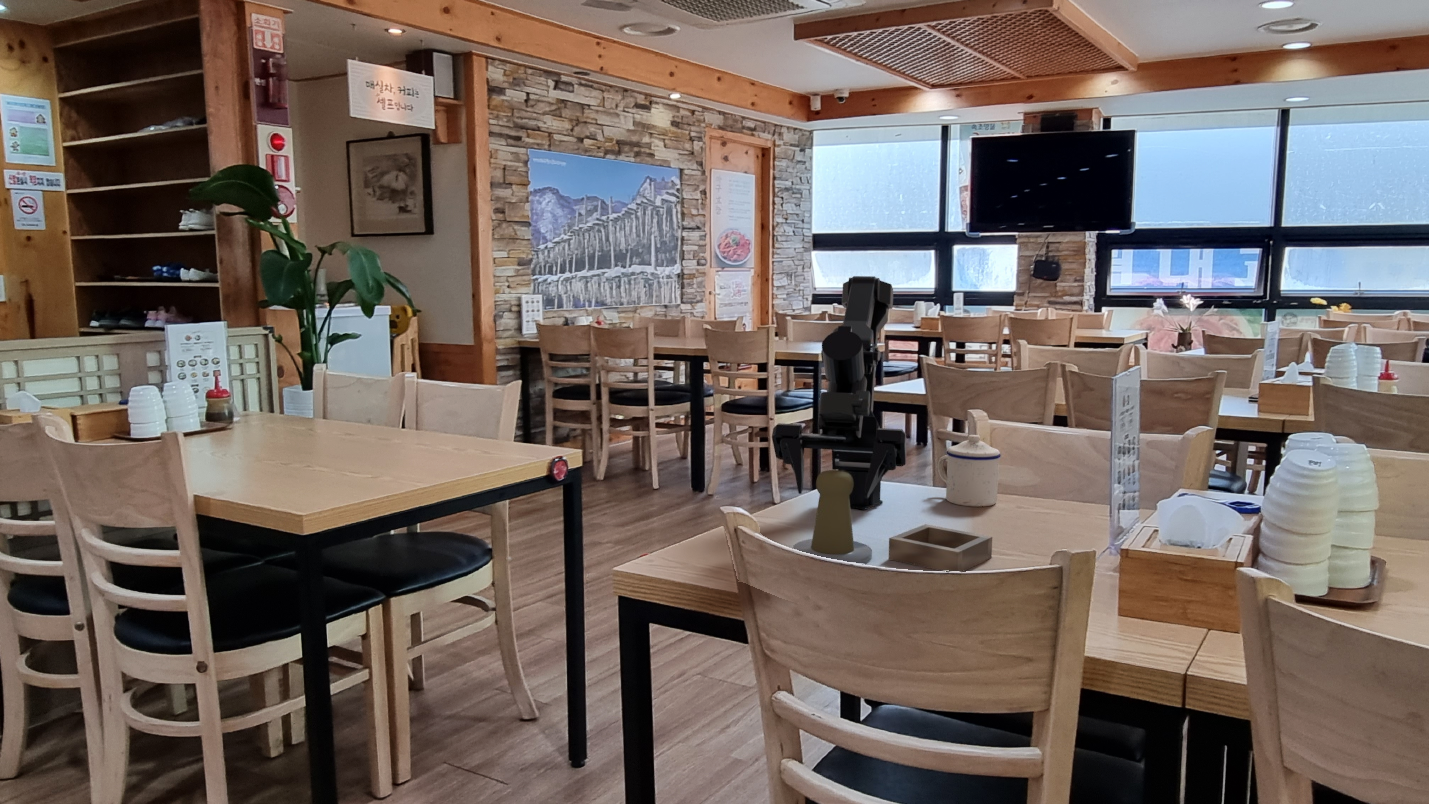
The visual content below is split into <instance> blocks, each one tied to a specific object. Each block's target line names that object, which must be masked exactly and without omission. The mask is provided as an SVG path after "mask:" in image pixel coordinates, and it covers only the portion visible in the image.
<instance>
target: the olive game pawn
mask: <svg viewBox="0 0 1429 804" xmlns="http://www.w3.org/2000/svg"><path fill="white" fill-rule="evenodd" d="M853 485H854V481H853V478H852V476H851V475H850V474H849V473H847V472H844V471H839V470H838V469H836V470H832V469H831V470H830V469H829V470H824V471H820V472H819V474H818V475H817V478H816V481H815V488H816V491H817V492H818V493H819V496H818V497H819V498H818V502H817V503H818V504H817V508H816V516H815V522H814V527H813V534H812V538H811V539H812V544H811V548H812V550H814V551H817V552H820V553H825V554H847V553H851V552H853V551H854V542H853V541H854V533H853V531H854V530H853V524H852V523H853V522H852V511H851V507H850V500H849V495H850V494H851V492H852V490H853Z"/></svg>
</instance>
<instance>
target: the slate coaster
mask: <svg viewBox="0 0 1429 804" xmlns="http://www.w3.org/2000/svg"><path fill="white" fill-rule="evenodd" d="M853 542H854V551H853V552H851V553H847V554H825V553H820V552H817V551H814V550H812V548H811V544H812V538H811V539H809V538H808V539H804V540H801V541H798V542H796V543H795V544H794V545H792V549H793V548H794V549H797V550H799V551H802V552H806V553H810V554H814V555H817V556H821V557H826V558H831V559H837V560H843V561H847V562H856V563H865V564H867V563H869V562H871V560H872V559H873V550H872V547H870V546H869V545H867V544H866V543H862V542H859V541H855V540H853Z"/></svg>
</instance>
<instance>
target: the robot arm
mask: <svg viewBox="0 0 1429 804" xmlns="http://www.w3.org/2000/svg"><path fill="white" fill-rule="evenodd" d="M841 294H842V295H841V305H842V307H843V308H844V309H845V312H844V315H843V316H844V317H843V321H842V325H838V326H837V327H836V328H834V329H833V330H832V332H831V333H830V334H828V335H827V336H825V337H824V339H823V340H822V342H821V352H820V354H821V362H822V364H823V366H824V367H823V368H824V373H825V374H824V375H825V378H826V379H827V381H828V382H827V388H826V391H825V392H824V391H823V392H821V393H820V397H819V407H818V421H817V422H818V424H817V426H818V430H820V433H803V431H804V430H803V425H802V424H799V423H777V424H776V425H775V426H774V427H773V429H772V434H771V440H772V445H773V449H774V454H775V457H776V459H778V460H782V461H783V463H784V464H786V465H790V467H791V468H792V471H793V474H794V476H795V482H796V486H797V492H798V495H799V494H800V495H801V494H802V493H803V489H804V476H805V475H804V473H805V459H804V454H805V449H812V450H813V449H815V450H816V449H817V450H831V460H832V461H831V462H832V463H831V464H832V469H831V470H839V471H844V472H847V473H849V474H850V475H851V476H852V478H853V481H854V485H853V490H852V492H851V494H850V495H849V500H850V508H853V509H857V510H867V509H870V508H873V507H877V506H880V505H882V504H883V500H881V487H882V486H881V481H882V478H883V477H884V476H885V475H886V474H887V473H888V472H889V471H894V470H896V468H897V467H900V468H901V467H903V466H905V465H906V464H907V463H906V462H907V434H906V432H905V431H904V429H903V428H901V429H900V428H887V427H886V428H885V427H881V428H880V425H879V422H878V420H877V418H876V417H875V415H874V412H873V411H874V398H875V394H874V393H875V383H876V370H877V369H876V368H877V366H878V364H879V363H878V362H879V361H881V351H880V349H879V347H878V339H879V334H880V333H881V331H882V329H883V328H884V327H885V325H886V324H887V323H888V321H889V311H890V310H892V309H893V306H894V288H893V285H892V284H891V283H889V282H886V281H883V280H880V278H879V277H876V276H873V275H872V276H868V275H867V276H865V275H861V276H860V275H859V276H858V275H857V276H856V275H854V276H852V277H848V281H846V282H843V283H842V293H841Z"/></svg>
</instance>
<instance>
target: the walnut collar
mask: <svg viewBox="0 0 1429 804" xmlns="http://www.w3.org/2000/svg"><path fill="white" fill-rule="evenodd" d="M992 552H993V536H989V535H985V534H979V533H975V532H969V531H965V530H964V531H963V530H957V529H953V528H947V527H941V526H936V525H933V524H932V525H931V524H927V523H925V524H922V525H920V526H917V527H915V528H912V529H909V530H906V531H904V532H902V533H899V534H897V535H893V536H891V537H889V538H888V560H890V561H896V562H900V563H905V564H909V565H913V566H917V567H922V568H928V569H931V568H932V570H937V571H940V570H949V571H963V570H965V571H967V570H969V569H971V568H973V567H976V566H977V565H979V564H981V563H984V562H986V561H988V560H990V559H992V555H993V554H992ZM963 572H964V571H963Z"/></svg>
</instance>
